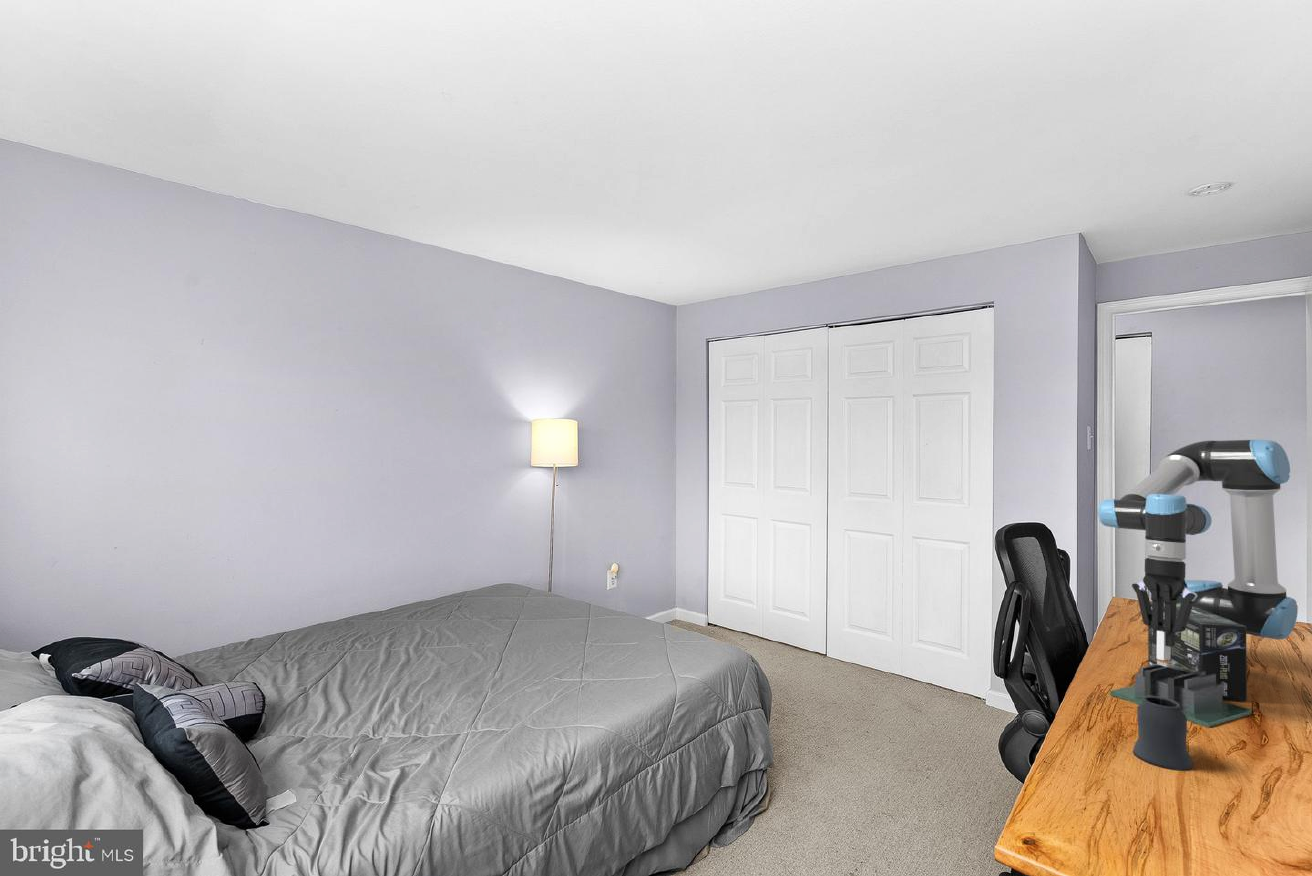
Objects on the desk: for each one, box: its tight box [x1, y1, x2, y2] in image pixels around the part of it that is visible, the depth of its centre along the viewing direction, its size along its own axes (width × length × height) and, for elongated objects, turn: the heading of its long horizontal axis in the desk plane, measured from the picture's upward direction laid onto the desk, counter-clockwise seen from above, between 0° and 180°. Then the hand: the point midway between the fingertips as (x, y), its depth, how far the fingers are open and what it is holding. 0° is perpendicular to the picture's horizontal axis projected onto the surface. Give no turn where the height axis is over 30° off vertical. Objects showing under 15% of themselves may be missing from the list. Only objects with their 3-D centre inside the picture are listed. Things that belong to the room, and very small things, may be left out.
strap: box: [1157, 659, 1198, 673], centre depth 148 cm, size 16×3×2 cm, turn 114°
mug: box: [1132, 696, 1194, 772], centre depth 122 cm, size 12×9×11 cm
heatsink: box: [1109, 664, 1252, 728], centre depth 148 cm, size 18×20×8 cm
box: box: [1147, 601, 1248, 703], centre depth 162 cm, size 23×10×19 cm, turn 168°
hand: (1163, 658), depth 146 cm, fingers closed
